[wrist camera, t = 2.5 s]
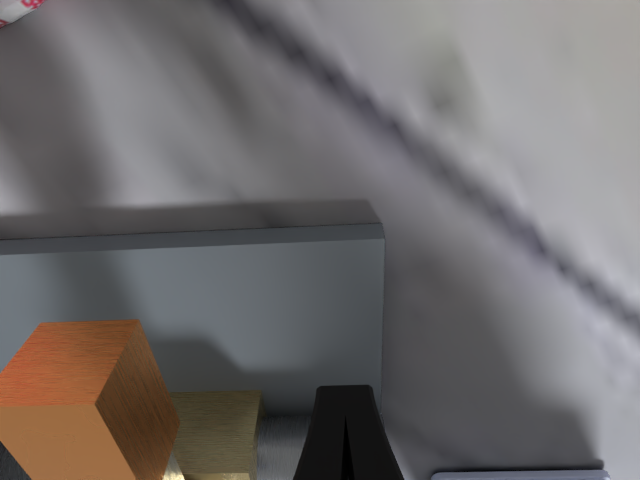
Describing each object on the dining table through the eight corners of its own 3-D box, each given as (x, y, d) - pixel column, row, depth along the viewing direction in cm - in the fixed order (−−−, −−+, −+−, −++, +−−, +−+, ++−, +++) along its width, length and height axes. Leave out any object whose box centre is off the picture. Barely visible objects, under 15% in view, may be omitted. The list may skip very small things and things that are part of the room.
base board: (381, 223, 15) (385, 238, 14) (376, 505, 26) (377, 523, 25) (-105, 244, 16) (-129, 260, 15) (87, 509, 27) (80, 526, 26)
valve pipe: (379, 377, 19) (391, 473, 15) (378, 440, 21) (388, 534, 18) (-14, 388, 20) (-89, 481, 16) (31, 447, 22) (-25, 539, 19)
